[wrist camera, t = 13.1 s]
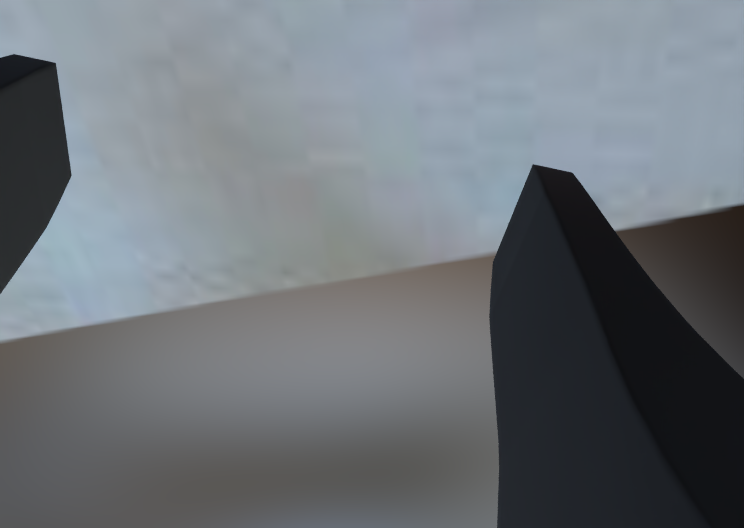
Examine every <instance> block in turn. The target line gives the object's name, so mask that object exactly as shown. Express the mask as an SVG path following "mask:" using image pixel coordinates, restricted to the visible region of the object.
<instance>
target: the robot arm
mask: <svg viewBox="0 0 744 528" xmlns="http://www.w3.org/2000/svg"><path fill="white" fill-rule="evenodd" d="M70 178H71V169H70V161H69V154H68V147H67V140H66V133H65V126H64V119H63V111H62V104H61V97H60V90H59V83H58V76H57V69H56V63H53V62H48V61H44V60H39V59H34V58H30V57H25V56H20V55H15V54H13V55H9V56H6V57H2V58H0V294H1V292H2V291H3V289H4V288H5V287H6V285H7V284H8V282H9V281H10V280H11V278H12V277H13V275H14V274H15V272H16V271H17V270H18V268H19V267H20V265H21V264H22V262H23V261H24V260H25V258H26V257H27V255H28V254H29V252H30V251H31V249H32V248H33V247H34V245H35V244H36V242H37V241H38V239H39V238H40V236H41V235H42V233H43V232H44V230H45V229H46V227H47V225H48V223H49V221H50V219H51V217H52V215H53V213H54V212H55V210H56V208H57V206H58V204H59V201H60V199H61V197H62V195H63V193H64V191H65V188H66V186H67V184H68V182H69V180H70ZM490 334H491V348H492V361H493V374H494V387H495V400H496V414H497V425H498V426H497V427H498V440H499V491H498V520H497V528H744V379H743V378H742V377H741V376H740V375H739V374H738V373H737V372H736V371H735V370H734V369H733V368H732V367H731V366H730V365H729V364H728V363H727V362H726V361H725V360H724V359H723V358H722V357H721V356H720V355H719V354H718V353H717V352H716V351H715V350H714V349H713V348H712V347H711V346H710V345H709V344H708V343H707V342H706V341H705V340H704V339H703V338H702V337H701V336H700V335H699V334H698V333H697V332H696V331H695V330H694V329H693V328H692V326H691V325H690V324H689V323H688V322H687V321H686V320H685V319H684V318H683V317H682V315H681V314H680V313H679V312H678V311H677V310H676V308H675V307H674V306H673V305H672V304H671V303H670V301H669V300H668V299H667V298H666V297H665V296H664V294H663V293H662V292H661V291H660V290H659V289H658V287H657V286H656V285H655V284H654V282H653V281H652V280H651V279H650V277H649V276H648V275H647V274H646V272H645V271H644V270H643V269H642V267H641V266H640V265H639V263H638V262H637V261H636V259H635V258H634V257H633V255H632V254H631V253H630V252H629V250H628V249H627V247H626V246H625V245H624V243H623V242H622V241H621V239H620V238H619V236H618V235H617V234H616V232H615V231H614V230H613V228H612V227H611V225H610V224H609V223H608V221H607V220H606V218H605V217H604V216H603V214H602V213H601V211H600V210H599V208H598V207H597V206H596V204H595V203H594V201H593V200H592V199H591V197H590V196H589V194H588V193H587V192H586V190H585V189H584V187H583V186H582V185H581V183H580V182H579V181H578V179H577V178H576V177H575V176H574V174H573V173H571V172H566V171H562V170H557V169H552V168H548V167H543V166H538V165H534V164H533V166H532V168H531V170H530V173H529V175H528V178H527V180H526V183H525V185H524V188H523V190H522V192H521V195H520V197H519V200H518V202H517V205H516V207H515V210H514V212H513V214H512V217H511V219H510V222H509V224H508V227H507V229H506V232H505V234H504V236H503V239H502V241H501V244H500V246H499V249H498V251H497V254H496V256H495V259H494V261H493V269H492V283H491V298H490Z"/></svg>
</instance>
